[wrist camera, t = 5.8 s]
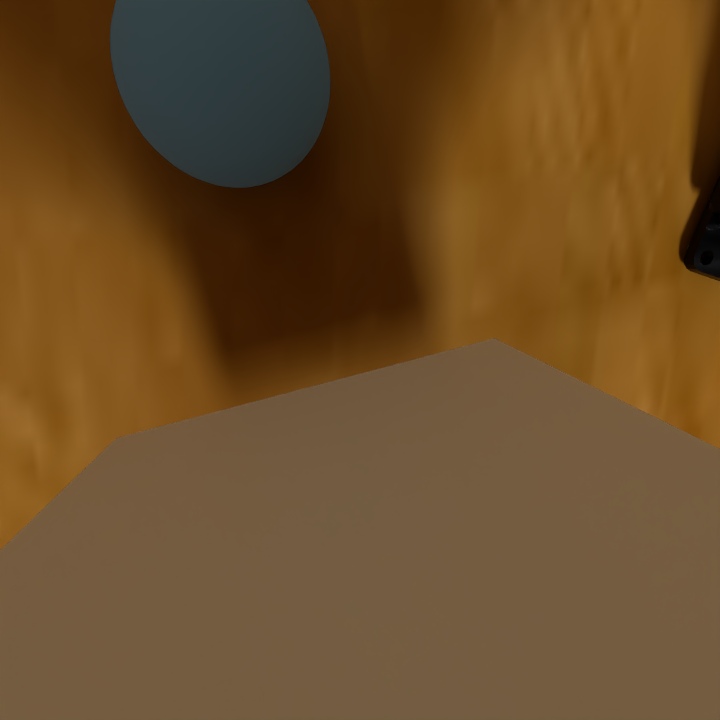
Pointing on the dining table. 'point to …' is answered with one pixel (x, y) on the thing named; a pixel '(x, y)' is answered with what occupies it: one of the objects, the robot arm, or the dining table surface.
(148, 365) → the dining table surface
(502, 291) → the dining table surface
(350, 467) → the white block
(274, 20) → the ball
